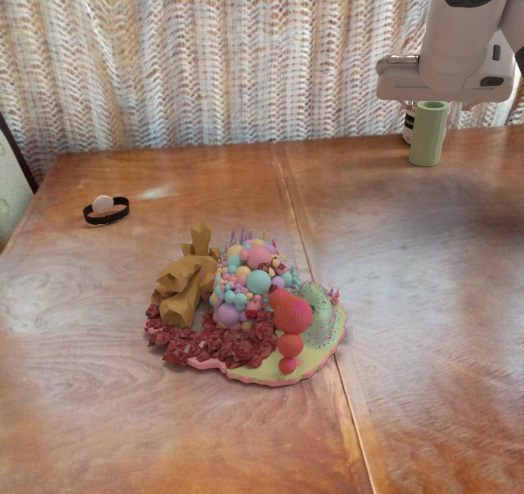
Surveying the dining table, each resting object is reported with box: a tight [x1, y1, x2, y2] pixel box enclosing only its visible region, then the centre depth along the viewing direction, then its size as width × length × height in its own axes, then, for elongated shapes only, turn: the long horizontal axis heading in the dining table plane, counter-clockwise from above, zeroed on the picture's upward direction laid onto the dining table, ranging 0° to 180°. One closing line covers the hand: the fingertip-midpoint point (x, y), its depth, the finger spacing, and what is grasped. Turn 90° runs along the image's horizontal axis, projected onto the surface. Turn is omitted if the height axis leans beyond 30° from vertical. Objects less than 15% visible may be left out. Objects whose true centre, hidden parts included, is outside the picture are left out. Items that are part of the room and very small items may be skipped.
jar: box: [408, 101, 450, 167], centre depth 97 cm, size 6×6×10 cm
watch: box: [82, 194, 131, 226], centre depth 87 cm, size 8×5×4 cm, turn 124°
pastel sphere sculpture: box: [142, 220, 347, 387], centre depth 65 cm, size 25×24×9 cm
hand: (436, 106), depth 90 cm, fingers open, 8 cm apart
